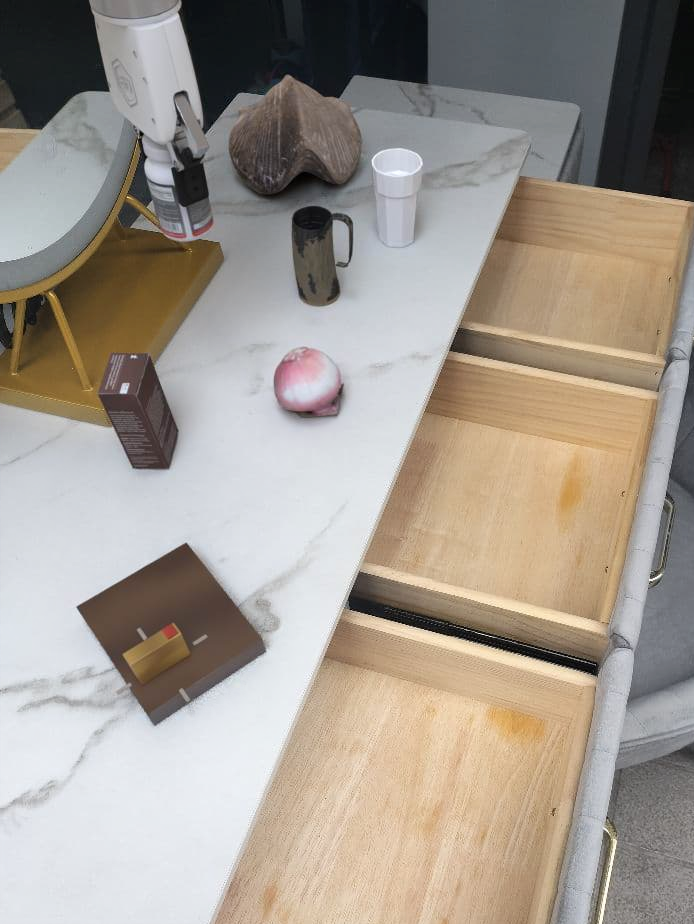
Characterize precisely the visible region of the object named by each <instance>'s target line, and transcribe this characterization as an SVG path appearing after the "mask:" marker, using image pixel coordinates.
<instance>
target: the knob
mask: <svg viewBox="0 0 694 924" xmlns="http://www.w3.org/2000/svg"><path fill="white" fill-rule="evenodd" d="M190 654H191V653H190V651H189V649H188V647H187V645H186V643H185V640H184V638H183V636H182V634H181V632H180V631H179V630H178V628H177V627H176V625H175V624H174V623H172V624H170V625H169V626H167V627H166V628H164V629H162V630H161V631H159V632H158V633H156V634H155V635H153V636H151V637H150V638H148V639H146V640H145V641H143V642H142V643H140V644H138V645H137V646H135V647H133V648H132V649H130V650H129V651H127V652H125V653H124V654H123V656H124V658H125V660H126V661H127V663H128V664H129V666H130V668H131V669H132V671H133V673H134V674H135V676H136V677H137V679H138V680H139V682H140V683H141V685H143V684H145V683H146V682H148V681H149V680H151V679H152V678H154V677H156V676H157V675H159V674H160V673H162V672H163V671H165V670H166V669H168V668H170V667H171V666H173V665H174V664H176V663H177V662H179V661H181V660H182V659H184V658H185V657H187V656H188V655H190Z"/></svg>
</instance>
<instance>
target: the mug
mask: <svg viewBox="0 0 694 924" xmlns="http://www.w3.org/2000/svg"><path fill="white" fill-rule="evenodd" d="M334 221H340V222H343V223H344V224H345V225H346V226H347V228H348V261H347V262H344V261H337V262H336V258H335V248H334V234H333V231H334V230H333V229H334ZM291 249H292V261H293V269H294V277H295V283H296V287H297V291H298V292H297V293H298V297H299V299H300V300H301V302H303V303H304V304H306V305H309V306H312V307H325V306H329V305H332V304H333V303H334V302H336V301H337V300H338V299H339V298H340V296H341V287H340V283H339V282H340V281H339V278H338V273H337V268H338V267H339V268H343V269H344V268H347V267H349V264H351V261H352V258H353V253H354V252H353V251H354V222H353V219H352V217H350V216H349V215H347V214H345V213H341V212H335V213H332V212H331V211H330V210H329V209H328V208H325V207H322V206H319V205H308V206H303V207H301V208H299V209H297V210H296V211H295V212H293V214H292V216H291Z"/></svg>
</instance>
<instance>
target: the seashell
mask: <svg viewBox="0 0 694 924" xmlns="http://www.w3.org/2000/svg"><path fill="white" fill-rule="evenodd" d="M228 136H229V137H228V153H229V158H230V161H231V163H232V166H233V168H234V170H235V171H236V173H237V175H238V177H239V178H240V179H241V180H242V181H243V183H245V184H246V185H247V186H248V187H249V188H251V189H252V190H253V191H255V192H257V193H258V194H260V195H274V194H277V193H280V192H281V191H283V190H284V189H285V188H286V187H287V186H288V185H289V184H290V183H291V182H292V181H293V180H294V179H295V178H296V177H297V176H299V175H300V174H301V173H304V172H305V173H308V174H311V175H313V176H315V177H317V178H318V179H321V180H323V181H325V182H327V183H330V184H333V185H342V184H344V183H346V182H347V181H349V180H350V178H351V177H352V176H353V174H354V173H355V170H356V168H357V166H358V164H359V161H360V159H361V155H362V143H363V142H362V141H363V138H362V133H361V130H360V128H359V124H358V122H357V120H356V118H355V116H354V115H353V113H352V110H351V106H350V104H349V103H347V102H346V101H345V100H342V99H340V98H339V97H338V98H337V97H334V96H324V95H322V94H320V93H319V91H317V90H315V89H314V88H312V87H310V86H309V85H307V84H305V83H304V82H301V81H299V80H297V79H295V78H294V77H293V76H292V75H290V74H286V75H285V76H284V77H283V78H282V80H281V81H280V82H277V83H276V84H275V85H274V86H272V87H271V88H270V89H269V90H268V91H267V92H266V93H265V94H264V96H263V97H262V98H261V99H260V100H259V101H258V102H257V103H256V104H254V105H249V106H244V107H241V108H239V109H238V114H237V118H236V120H235V123H234V124H233V126H232V128H231V130H230V132H229V135H228Z"/></svg>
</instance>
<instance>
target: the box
mask: <svg viewBox="0 0 694 924" xmlns="http://www.w3.org/2000/svg"><path fill="white" fill-rule="evenodd" d="M97 396H98V398H99V400H100V402H101V404H102V406H103V408H104V410H105V413H106V415H107V417H108V419H109V421H110V423H111V425H112V426H113V429H114V431H115V433H116V437H118V440H119V443H120V444H121V447H122V448H123V451H124V453H125V455H126V457H127V459H128V462H129V464H130V465H131V468H132V469H137V470H138V469H141V470H142V469H143V470H168V469H169V468H170V464H171V462H172V457H173V454H174V449H175V445H176V442H177V438H178V434H179V429H178V426H177V423H176V421H175V418H174V415H173V413H172V410H171V407H170V404H169V403H168V400H167V396H166V394H165V391H164V389H163V386H162V384H161V381H160V377H159V375H158V372H157V369H156V368H155V365H154V363H153V360H152V357H151V354H150V353H149V352H111V353H110V355H109V358H108V360H107V364H106V366H105V369H104V373H103V375H102V379H101V381H100V384H99V387H98V390H97Z"/></svg>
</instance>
